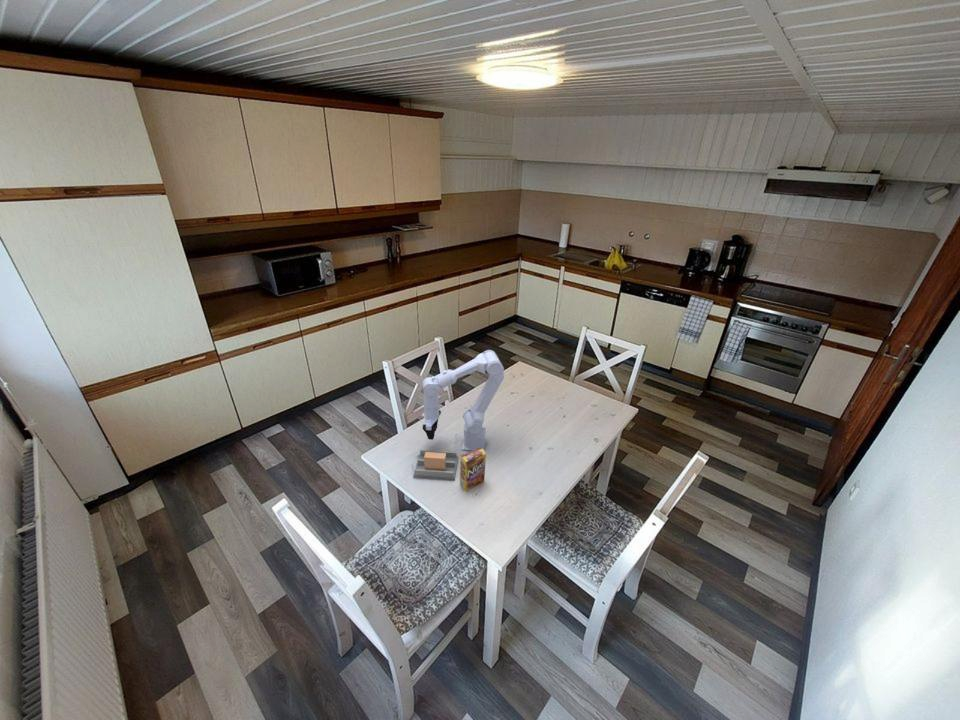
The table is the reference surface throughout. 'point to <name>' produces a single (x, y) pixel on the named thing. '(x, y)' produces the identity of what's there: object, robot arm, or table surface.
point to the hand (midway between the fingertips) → (432, 432)
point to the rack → (435, 474)
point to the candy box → (472, 468)
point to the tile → (435, 461)
